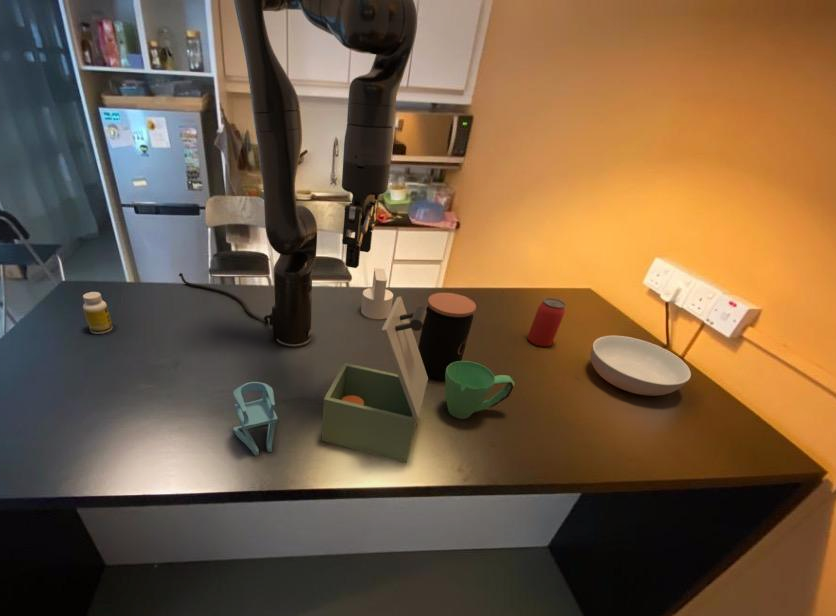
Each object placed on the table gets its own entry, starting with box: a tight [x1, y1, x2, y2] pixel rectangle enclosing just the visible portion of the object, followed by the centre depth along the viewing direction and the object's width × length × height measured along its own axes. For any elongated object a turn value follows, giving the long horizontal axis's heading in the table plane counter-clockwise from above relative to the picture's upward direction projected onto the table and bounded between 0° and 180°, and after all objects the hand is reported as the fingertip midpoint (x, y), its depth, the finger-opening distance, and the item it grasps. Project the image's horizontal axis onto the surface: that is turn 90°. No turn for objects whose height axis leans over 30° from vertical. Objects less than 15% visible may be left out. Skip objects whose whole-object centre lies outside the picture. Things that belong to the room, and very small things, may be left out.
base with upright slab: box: [360, 267, 394, 320], centre depth 125 cm, size 9×9×12 cm
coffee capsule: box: [342, 395, 364, 406], centre depth 85 cm, size 5×5×5 cm
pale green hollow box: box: [321, 362, 418, 463], centre depth 83 cm, size 17×13×10 cm
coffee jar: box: [417, 292, 477, 381], centre depth 100 cm, size 11×11×18 cm
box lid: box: [381, 296, 429, 420], centre depth 73 cm, size 18×13×5 cm
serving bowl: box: [590, 335, 692, 397], centre depth 104 cm, size 21×21×7 cm
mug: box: [444, 360, 515, 420], centre depth 90 cm, size 15×10×10 cm
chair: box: [233, 381, 279, 457], centre depth 78 cm, size 8×8×12 cm
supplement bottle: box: [82, 291, 114, 335], centre depth 109 cm, size 5×5×10 cm
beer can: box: [527, 297, 566, 348], centre depth 116 cm, size 7×7×12 cm
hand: (358, 258), depth 77 cm, fingers open, 8 cm apart
